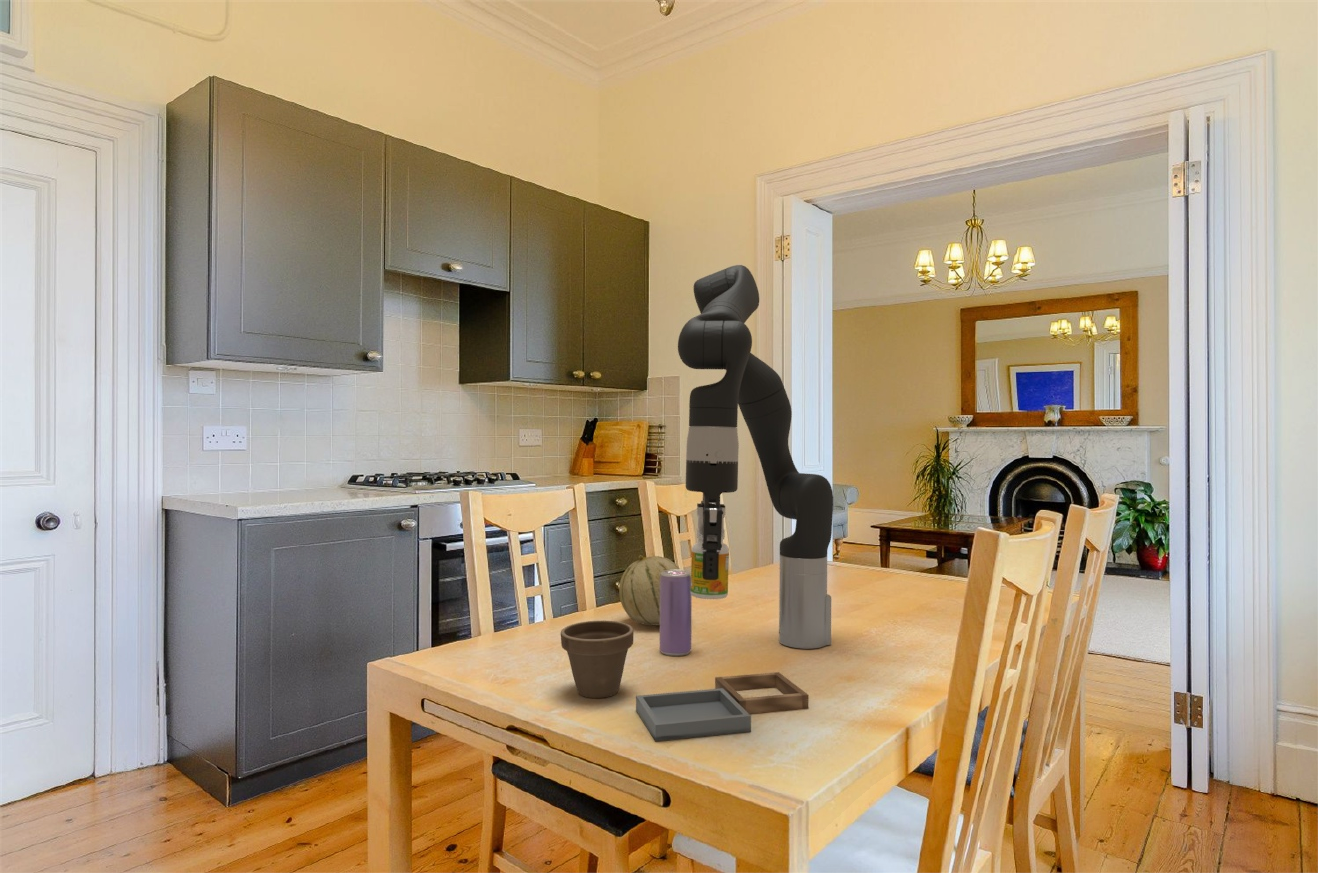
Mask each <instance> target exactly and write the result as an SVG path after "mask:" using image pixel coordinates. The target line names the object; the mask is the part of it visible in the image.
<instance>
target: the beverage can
mask: <svg viewBox="0 0 1318 873" xmlns="http://www.w3.org/2000/svg"><path fill="white" fill-rule="evenodd" d="M692 597H693V596H692V595H691V571H689V570H684V569H680V570H665V571H662V572H661V576H660V625H659V651H660V652H661V653H662V654H663V655H665V656H669V657H683V656H686V655H688V654H690V652H691V650H692V610H693V609H692V605H693V604H692V599H693V598H692Z"/></svg>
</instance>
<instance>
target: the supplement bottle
mask: <svg viewBox="0 0 1318 873" xmlns="http://www.w3.org/2000/svg"><path fill="white" fill-rule="evenodd" d="M725 531H726V530H725V529H724V533H723V536H722V537H721V544H722V548H721V550H720V553H719V568H718V579H717V580H705V579H703V576H702V571H703V552H702V550H701V547H702V541H703V539H702V537H700V536H699V528H698V527H697V529H696V539H698V542H695V543H694V544H693V545H692V547H691V561H690V562H691V564H690V565H691V566H690V568H691V569H690V573H691V574H690V575H691V595H692V597H694V598H696V599H702V600H721V599H725V598H727V597H728V595H729V594H728V592H729V566H730V564H729V562H730V561H729V560H730V559H729V558H730V548H729V546H728V544H726V543H724V540H725V538H726V537H725V536H726V534H725V533H726V532H725ZM707 541H716V538H715V537H707Z"/></svg>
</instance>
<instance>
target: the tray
mask: <svg viewBox="0 0 1318 873" xmlns="http://www.w3.org/2000/svg"><path fill="white" fill-rule="evenodd" d="M635 711H636V713H637V714H638V716H639V718H640V719H641V721H642V722H643V724H644V726H645V727H646V729H647V730H648V731H649V733H650V735H651V736H652V739H653V740H654V741H655V742H661V741H662V742H663V741H664V742H665V741H673V740H675V741H676V740H683V739H684V740H685V739H693V738H703V737H712V736H722V735H732V734H741V733H742V734H743V733H751V732H752V715H751V714H749V713H748V712H747V711H746V710H745V709H744V708H743V707H741V706H740V705H739V704H738V703H737V702H736V701H735V700H734V699H733V698H732V697H731V696H730V695H729V694H728V693H727V692H726V691H725V690H724V689H723V688H720V689H715V688H710V689H699V690H698V689H696V690H687V691H675V692H674V691H673V692H664V693H651V694H650V693H649V694H641V695H636V696H635Z"/></svg>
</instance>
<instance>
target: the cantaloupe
mask: <svg viewBox="0 0 1318 873" xmlns="http://www.w3.org/2000/svg"><path fill="white" fill-rule="evenodd" d="M665 570H681V568H680V567H679V566H678V565H677V564H676V563H675V562H673V561H672V560H671V559H669V558H667V557H663V556H659V555H653V556H652V555H651V556H647V557H645V556H643V555H642V554H640V555H638V560H636V561H633V563H630V565H629V566H627V567H626V569H625V570H624V572H623V574H622V576H621V578H620V582H619V587H618V588H619V589H618V591H619V592H618V593H619V600H620V603H621V606H622V608H623V610H624V612H625V613H626V614H627V616H628V617H629V618H630V619H631V620H633V621H634V622H637V623H638V624H642V625H646V626H660V576H661V572H662V571H665Z"/></svg>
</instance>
